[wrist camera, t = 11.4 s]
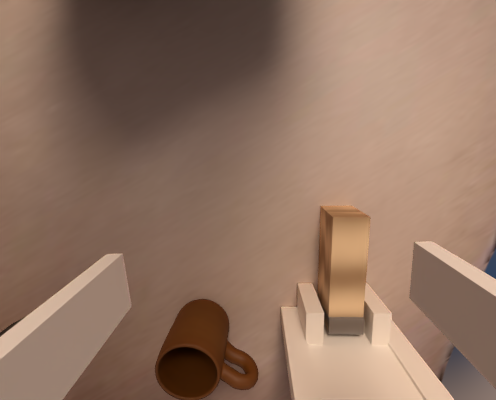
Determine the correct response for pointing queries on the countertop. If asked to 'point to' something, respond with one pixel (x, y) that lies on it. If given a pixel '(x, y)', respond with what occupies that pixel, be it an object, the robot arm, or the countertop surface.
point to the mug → (201, 354)
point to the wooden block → (343, 268)
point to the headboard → (352, 356)
